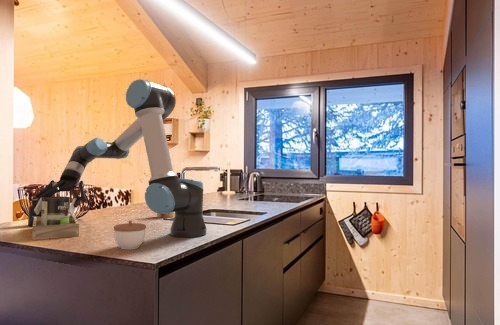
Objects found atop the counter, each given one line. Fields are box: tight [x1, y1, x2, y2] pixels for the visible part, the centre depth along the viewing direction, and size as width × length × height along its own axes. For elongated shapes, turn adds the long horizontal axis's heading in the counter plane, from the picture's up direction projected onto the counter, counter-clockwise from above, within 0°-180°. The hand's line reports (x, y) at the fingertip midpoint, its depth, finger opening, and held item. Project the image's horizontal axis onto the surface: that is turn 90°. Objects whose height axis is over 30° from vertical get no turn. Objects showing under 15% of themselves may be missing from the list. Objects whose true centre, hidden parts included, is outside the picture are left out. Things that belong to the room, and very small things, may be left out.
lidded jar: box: [113, 220, 147, 250], centre depth 126 cm, size 11×11×9 cm
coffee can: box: [41, 195, 71, 226], centre depth 146 cm, size 10×10×14 cm
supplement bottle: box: [27, 198, 42, 227], centre depth 166 cm, size 7×7×12 cm
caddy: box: [31, 214, 80, 241], centre depth 151 cm, size 26×16×5 cm, turn 30°
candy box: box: [156, 212, 175, 218], centre depth 198 cm, size 9×4×15 cm, turn 103°
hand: (53, 212), depth 144 cm, fingers open, 13 cm apart
